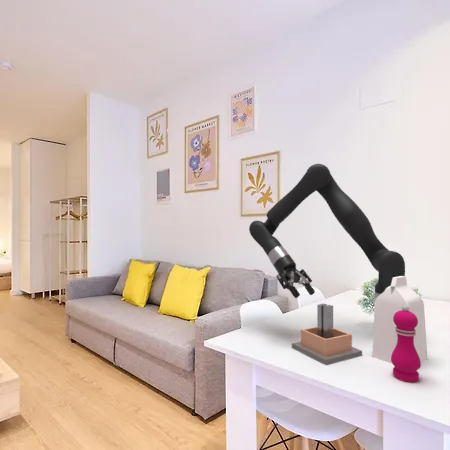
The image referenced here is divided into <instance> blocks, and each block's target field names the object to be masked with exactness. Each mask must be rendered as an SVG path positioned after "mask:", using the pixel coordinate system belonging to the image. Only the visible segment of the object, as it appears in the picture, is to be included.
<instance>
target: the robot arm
mask: <svg viewBox="0 0 450 450" xmlns="http://www.w3.org/2000/svg"><path fill="white" fill-rule="evenodd" d="M315 192H317V193H318V194H319V195H320V196H321V197H322V198H323V199H324V201H325V202H326V204H327V206H328V208H329V209H330V211H331V213H332V214H333V216H334V217H335V219H336V220H337V221H338V223H339V224H340V225H341V227H342V228H343V230H344V231H345V232H346V233H347V234H348V235H349V237H351V238H352V240H353V241H354V242H355V243H356V244H357V245H358V246H359V248H360V249H361V250H362V251H363V253H364V255H365V256H366V258H367V259H368V261H369V262H370V264H371V266H372V267H373V269H374V270H375V271H377V272H378V275H377V276H378V277H377V278H378V279H377V283H376V284H375V285H374V301H375V300H376V298H377V297H378V296H379V295H380V294H382V293H383V292H384V291H385V289H386V288H387V287H389V286H391V283H392V278H393V277H398V276H406V262H405V259H404V257H403V256H402V254H401V253H399V252H397V251H394V250H389V249H388V248H387V247H386V246H385V245H384V244H383V243H382V242H381V241H380V239H379V238H378V236H377V235H376V233H375V231H374V229H373V227H372V223H371V221H370V219H369V218H368V217H367V215H366V214H365V213H364V211H363V210H362V208H360V206H358V204H357V203H356V202H355V201H354V200H353V199H352V198H351V197H350V196H349V195H348V194H347V193H346V192H344V191H343V189H342V188H341V187H340V186H339V185H338V183H337V182H336V180H335V178H334V177H333V176H332V173H331V171H330V169H329V168H328V166H327V165H325V164H322V163H314V164H312V165H311V166H309V167H308V168H307V169H306V172H305V173H304V175H303V176H302V177H301V179H300V180H299V181H298V182H297V184H295V186H294V187H293V188H292V189H291V190H290V191H288V192H287V193H286V194H285V195H284V196H282V198H280V200H278V202H276V203H275V204H274V205H273V206H272V207H271V208H270V209H269V210H268V211H267V212H266V220H265V221H264V222H263V221H262V220H253V221H252V222H251V223H250V225H249V228H248V231H249V234H250V236H251V237H252V239H253V241H255V242H256V243H257V244H258V245H259V246H260V247H261V248H262V249H263V251H264V253H265V254H266V256H267V257H268V259H269V261H270V263H271V264H272V266H273V268H274V269H275V271H276V272H277V274H276V276H275V277H276V279H277V281H278V282H279V284H280V286H281V287H282V289H284V290H285V289H287V290H288V291H289V292H290V293H291V295H292V296H293V297H294V298H295V299H297V298H299V296H300V295H301V294H300V292H299V291H298V289H297V288H296V286H295V285H294V284H298V285H302V287H304V289H305V290H306V291H307V293H308V294H309V295H310V296H313V295H314V294H315V293H316V291H315V289H314V288H313V287H312V285H311V283H312V282H313V279H311V277H310V276H309V275H308V273H307V272H306V271H305V269H301V270H299V269H297V264H296V262H295V260H294V259H293V258H292V256H291V255H290V254H289V252H288V251H287V250H286V249H285V248H284V246H283V245H282V243H281V242H280V241H279V239H278V238H277V237H275V236H274V233H275V232H276V231H277V229H278V228H279V226H280V225H281V223H283V222H284V221H285V220H286V219H287V218H288V217H289V216H291V214H293V212H294V211H295V210H296V209H297V208H298V207H299V206H300V204H302V203H303V201H305V200H306V199H307V198H309V197H310V196H311V195H312V194H313V193H315Z"/></svg>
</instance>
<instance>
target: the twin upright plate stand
mask: <svg viewBox="0 0 450 450" xmlns="http://www.w3.org/2000/svg"><path fill="white" fill-rule="evenodd" d="M316 310H317V312H316V313H317V316H316V317H317V321H316V323H317V325H316V327H317V336H320V337H322V338H325V339H328V338H333V328H334V305H331V304H327V303H320V304H319V303H318V304H317V309H316Z"/></svg>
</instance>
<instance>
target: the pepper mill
mask: <svg viewBox="0 0 450 450" xmlns="http://www.w3.org/2000/svg"><path fill="white" fill-rule="evenodd" d="M408 310H409V307H408V306H406V305H404V306H402V310H401V311H398V312H396V313H395V314H394V317H393V321H394V323H395V325H396V326H397V327H395V329H396V330H395V332H396V333H397V344H396V347H395V349H394V350H393V352H392V355H391V362H392V363H391V364H392V365H393V366H394V367H393V368H392V375H393V377H394V378H396V379H397V380H399V381H403V382H407V383H416V382H418V381H419V380H420V375H419V374H420V373H419V372H418V371H419V370H420V368H421V366H422V363H421V362H420V358H419V355H418V353H417V351H416V349H415V346H414V336H415V335H416V333H415V332H416V330H415V329H414V328H415V327H416V326H417V325H418V319H417V317H416V315H415V314H414V313H412V312H410V311H408Z"/></svg>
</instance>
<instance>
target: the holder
mask: <svg viewBox="0 0 450 450" xmlns="http://www.w3.org/2000/svg"><path fill="white" fill-rule="evenodd" d="M291 348H292V349H293V350H296V351H298V352H300V353H302V354H304V355H305V356H307V357H310V358H311V359H313V360H315V361H317V362H319V363H321V364H323V365H325V366H328V365H331V364H335V363H338V362H344V361H346V360H350V359H355V358H358V357H361V356H363V350H361V349H358V348H356V347H353V335H352V334H351V333H348V332H346V331H343V330H340V329H337V328H335V327H333V338H328V339H325V338H322V337H320V336H317V326H313V327H308V328H302V329H300V340H299V341H296V342H291Z"/></svg>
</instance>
